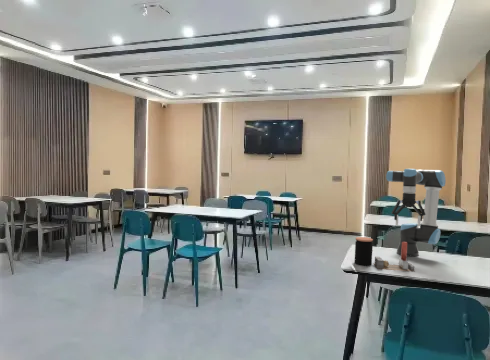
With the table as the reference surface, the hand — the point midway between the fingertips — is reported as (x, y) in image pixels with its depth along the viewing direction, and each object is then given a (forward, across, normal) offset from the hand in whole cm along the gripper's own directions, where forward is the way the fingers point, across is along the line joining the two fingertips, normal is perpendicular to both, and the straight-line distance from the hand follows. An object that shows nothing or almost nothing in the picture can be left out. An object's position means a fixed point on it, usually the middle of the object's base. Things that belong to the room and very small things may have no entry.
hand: (407, 225), depth 234 cm
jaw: (+26, -4, -7) cm, 27 cm away
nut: (+26, -15, -7) cm, 30 cm away
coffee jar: (+27, -28, -3) cm, 39 cm away
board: (+27, -10, -7) cm, 30 cm away
